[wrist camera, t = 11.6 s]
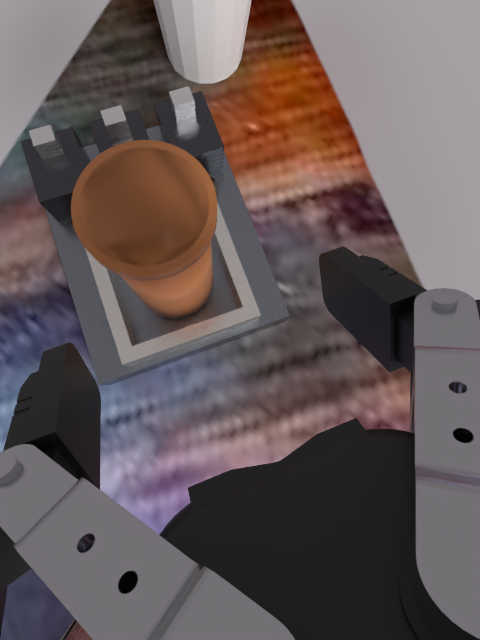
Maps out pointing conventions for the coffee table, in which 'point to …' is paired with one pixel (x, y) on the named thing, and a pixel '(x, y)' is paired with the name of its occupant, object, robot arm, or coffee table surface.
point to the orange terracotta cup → (150, 222)
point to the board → (111, 289)
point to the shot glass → (203, 36)
